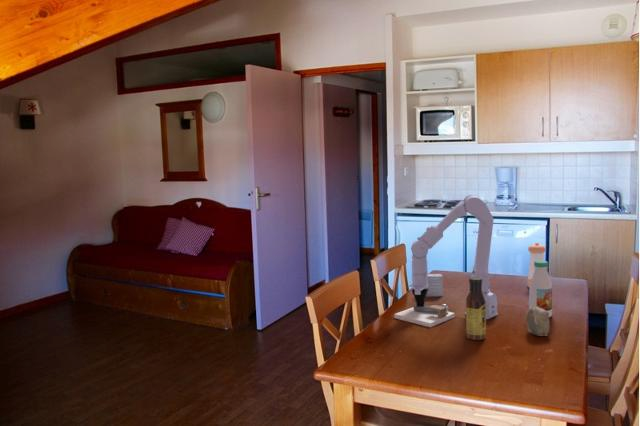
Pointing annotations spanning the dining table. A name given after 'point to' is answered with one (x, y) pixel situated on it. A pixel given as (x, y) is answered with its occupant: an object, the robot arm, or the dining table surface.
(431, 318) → the board
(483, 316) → the sauce bottle
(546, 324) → the grey rock
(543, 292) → the milk bottle
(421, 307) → the steel link
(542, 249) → the orange-capped bottle
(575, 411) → the dining table surface
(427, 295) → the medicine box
